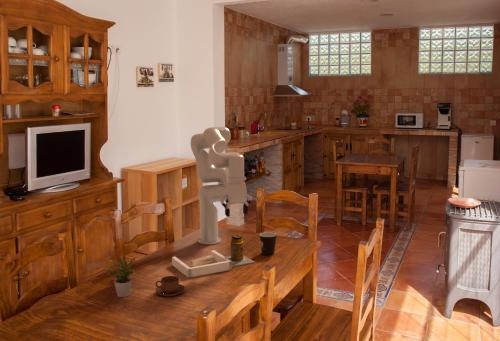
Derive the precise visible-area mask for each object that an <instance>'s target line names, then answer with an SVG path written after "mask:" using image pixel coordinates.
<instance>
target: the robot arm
mask: <svg viewBox="0 0 500 341" xmlns="http://www.w3.org/2000/svg"><path fill="white" fill-rule="evenodd" d="M231 137H232V135H231V131H230V130H229V128H227V127H225V126H219V127H218V126H217V127H208V128H206V129H204V131H203V132H202V133H196V134H194V135H192V136H191V138H190V148H191V152H192V154H193V157H194V159H195V162H196V163H195V164H196V171H197V177H198V180H199V182H200V183H202V184H206V185H202V186H200V187H199V188H198V190H197V196H198V200H199V213H200V214H199V215H200V217H199V220H200V233H199V234H200V238H198V240H197V243H198V244H200V245H208V246H210V245H217V244H219V243H221V241H222V239H221V238H220V237H219V220H218V218H219V216H218V208H217V207H216V205H214V203H219V202H220V204H221V206H222V207H223V208H224V214H225V216H226V217H228V218H229V217H230V216H231V213H230V212H231V210H230V207H231V205H238V204H243V206H242V213H243V214H244V215H248V213H249V206H250V204H251V202H252V201H253V196H252V195H250V194H248V190H247V186H246V182H245V181H246V180H247V177H246V176H245V157H244V156H243V154H240V153H238V152H235V151H233V152H231V151H230V152H225V150H226V149H227V147H228V143H229V142H231ZM207 149H208V152H207ZM227 170H228V172H227ZM210 183H216V184H210Z"/></svg>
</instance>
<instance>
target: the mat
mask: <svg viewBox="0 0 500 341" xmlns="http://www.w3.org/2000/svg"><path fill="white" fill-rule="evenodd" d="M225 257H226V258H231V255H229V256H225ZM243 258H244V259H247V260H244V261H240V262H236V263H232V268H236V267H240V266H246V265H250V264H251V265H252V264H255V263H256V261H255V260H252V259H251V258H249V257H248V256H246V255H244V254H243Z"/></svg>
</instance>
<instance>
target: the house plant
mask: <svg viewBox="0 0 500 341" xmlns="http://www.w3.org/2000/svg"><path fill="white" fill-rule="evenodd" d="M138 257H140V256H139V255H138V256H135V257H134V258H132V257H131V258H129V259H128V260H127V258H125V259H124V257H123V255H122V254H121V255H120V263H119V261H117V260H116V259H114V260H112V259H109V261H110V262H111V263H113V265H115V266H113V268H115V267H116V268H115V269H116V270H117V271H118V272H117V271H116V270H114V269H112V268H109V267H104V269H105V270H107V271H108V273H107V274H106V276H108V275H114V276H115V277H116V279H114V285H115V291H116V294H117V297H119V298H125V297H128V296H130V294H131V289H132V281H133V280H132V278H131V277H130V276H131V275H135V273H136V272H135V271H136V269H134V268H132V267H133V263H134V261H135V260H136V259H137V258H138ZM128 262H129V263H128ZM127 264H128V266H127ZM108 265H110V266H111V264H110V263H108ZM134 270H135V271H134Z"/></svg>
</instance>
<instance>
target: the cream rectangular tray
mask: <svg viewBox="0 0 500 341" xmlns="http://www.w3.org/2000/svg"><path fill="white" fill-rule="evenodd" d="M210 255H211V256H214V257H215V259H216V260H217V263H213V264H208V265H202V266H197V267H192V266H191V267H190V266H189V265H187V264H186V263H184V262H183V261H181V259H180V258H178V257H176V256H173V257H171V265H172V266H173V267H174V268H175V269H176V270H178V272H180V273H182V275H184V276H185V275H186V276H185V277H186V278H188V279H189V277H190V278H194V277H201V276H205V275H210V274H215V273H222V272H225V271H226V272H227V271H231V270H233V267H232V261H231V260H229V259H228V258H226V257H227V256H224V255H222V254H221V253H220V252H217V250H215V249H211V250H210Z"/></svg>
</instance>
